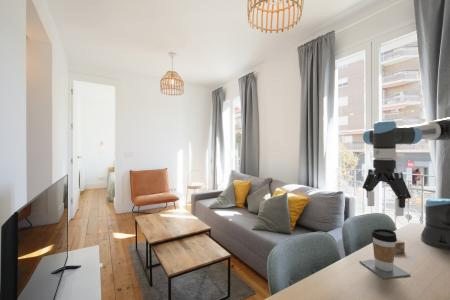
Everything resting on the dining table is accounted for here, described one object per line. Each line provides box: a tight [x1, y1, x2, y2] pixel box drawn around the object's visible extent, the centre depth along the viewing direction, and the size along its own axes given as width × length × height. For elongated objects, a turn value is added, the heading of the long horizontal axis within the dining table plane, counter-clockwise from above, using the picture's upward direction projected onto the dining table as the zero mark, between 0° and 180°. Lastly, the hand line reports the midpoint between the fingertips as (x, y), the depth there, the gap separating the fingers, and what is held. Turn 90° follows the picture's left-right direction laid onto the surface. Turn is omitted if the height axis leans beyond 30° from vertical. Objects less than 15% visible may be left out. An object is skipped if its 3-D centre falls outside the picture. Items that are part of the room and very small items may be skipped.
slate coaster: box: [359, 259, 411, 280], centre depth 90 cm, size 12×12×1 cm
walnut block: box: [395, 238, 406, 254], centre depth 106 cm, size 5×5×5 cm
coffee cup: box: [371, 228, 398, 271], centre depth 90 cm, size 8×8×15 cm
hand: (384, 210), depth 90 cm, fingers open, 13 cm apart
